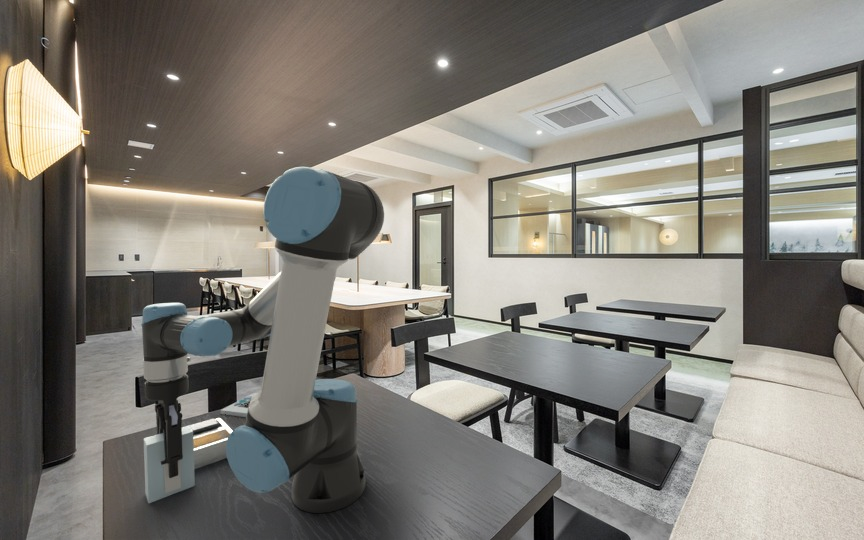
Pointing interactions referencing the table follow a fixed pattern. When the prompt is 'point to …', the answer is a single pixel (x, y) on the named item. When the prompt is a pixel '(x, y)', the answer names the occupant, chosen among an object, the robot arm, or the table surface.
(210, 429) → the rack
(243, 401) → the electronic device
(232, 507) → the table surface
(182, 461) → the block
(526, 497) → the table surface
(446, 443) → the table surface
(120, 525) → the table surface
